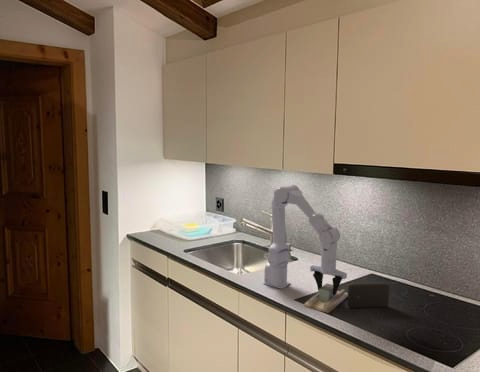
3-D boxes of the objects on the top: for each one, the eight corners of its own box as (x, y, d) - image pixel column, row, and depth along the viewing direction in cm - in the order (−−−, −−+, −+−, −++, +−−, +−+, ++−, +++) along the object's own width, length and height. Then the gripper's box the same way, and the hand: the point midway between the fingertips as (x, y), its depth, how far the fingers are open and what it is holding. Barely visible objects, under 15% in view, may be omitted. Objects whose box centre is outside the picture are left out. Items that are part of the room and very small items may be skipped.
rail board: (304, 306, 154) (304, 299, 153) (325, 289, 170) (325, 284, 169) (328, 313, 148) (328, 306, 147) (348, 295, 164) (348, 289, 164)
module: (318, 299, 157) (319, 288, 157) (326, 293, 163) (326, 283, 162) (328, 302, 155) (328, 291, 154) (335, 296, 161) (336, 285, 160)
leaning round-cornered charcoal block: (383, 302, 158) (385, 279, 156) (389, 307, 153) (390, 284, 152) (344, 304, 156) (345, 280, 155) (348, 309, 151) (349, 285, 150)
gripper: (307, 257, 157) (306, 290, 159) (342, 265, 149) (340, 300, 151) (315, 253, 163) (313, 285, 165) (349, 260, 155) (347, 294, 156)
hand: (327, 292), depth 158 cm, fingers open, 6 cm apart
